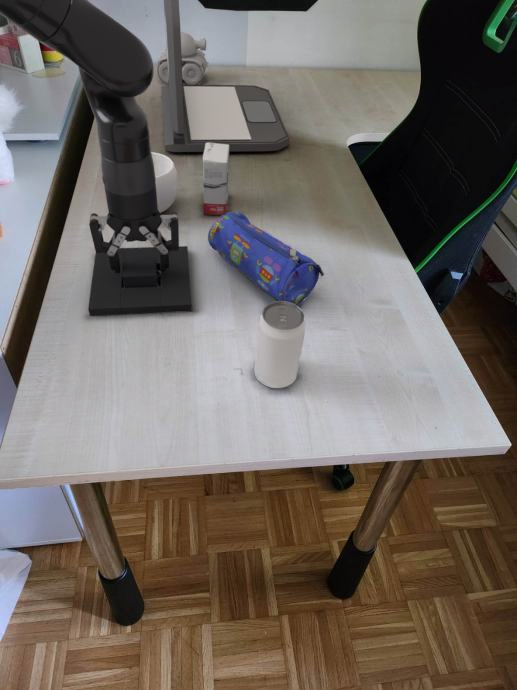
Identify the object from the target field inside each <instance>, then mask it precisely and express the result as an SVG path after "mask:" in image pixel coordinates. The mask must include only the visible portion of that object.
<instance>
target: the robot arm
mask: <svg viewBox="0 0 517 690" xmlns="http://www.w3.org/2000/svg"><path fill="white" fill-rule="evenodd" d="M0 15H1V16H3V17H4V18H5V19H7V20H8V21H9V22H11V23H12V24H14V25H15V26H17V27H18V28H19V29H21V30H22V31H23V32H25V33H26V34H28V35H29V36H30V37H32V39H35V40H36V41H38V42H39V43H41V44H42V45H44V46H45V47H46V48H49V49H51V50H52V51H55V52H56V53H59V54H60V55H62V56H64V57H65V58H67V59H68V60H69V61H71V62H72V63H73V64H75V65H76V66H77V69H78V73H79V75H80V79H81V82H82V85H83V88H84V91H85V94H86V97H87V100H88V103H89V104H88V105H89V106H90V108H91V111H92V113H93V117H94V119H95V122H96V129H97V130H96V131H97V138H98V143H99V149H100V150H99V151H100V161H101V162H100V166H101V173H102V174H101V175H102V176H101V178H102V183H103V186H104V193H105V198H106V204H107V212H108V213H107V215H98V214H97V213H95V212H93V213H90V217H89V223H88V226H89V230H90V234H91V239H92V243H93V247H94V251H95V253H96V252H97V253H102V252H103V253H106V254H107V255H108V256H109V262H110V267H111V269H112V270H115V273H120V261H119V255H118V248H121V246H122V245H123V243H124V242H125V241H126V243H132V242H137V241H138V242H147V240H148V242H149V243H150V244H151V245H152V247H156V248H157V249H158V250H159V251H160V260H161V271H166V268H169V252H170V251H178V250H179V246H180V235H179V234H180V230H179V227H180V226H179V224H180V223H179V214H178V212H177V211H171V212H170V214H162V213H160V212H159V211H158V205H157V193H156V178H155V170H154V163H153V158H152V154H151V152H152V147H151V133H150V125H149V120H148V117H147V114H146V112H145V111H144V110H143V108H142V107H141V106H140V104H139V103H138V102H137V100H136V98H135V97H139V96H140V95H142V94H144V93H145V92H146V91H147V90H148V89H149V87H150V86H151V84H152V82H153V79H154V73H155V69H154V67H155V66H154V61H153V57H152V54H151V51H149V49H148V47H147V46H146V45H145V43H144V42H143V41H142V40H141V39H140V38H138V37H137V36H136V35H135V34H134V33H133V32H131V31H130V29H128V28H127V27H125V26H124V25H122V24H121V23H120V22H119V21H117V20H115V19H114V18H113V17H111V16H110V15H109V14H107V13H106V12H105V11H103V10H102V9H100V8H99V7H97V6H96V5H94V4H93V3H92V2H91V1H90V0H0ZM162 224H164V225H165V228H166V229H168V231H169V230H170V237H171V238H170V239H168V240H167V239H166V238H165V237H164V236H163V234H162V232H161V231H160V229H159V228H160V227H161V225H162ZM106 225H107V226H108V227H109V228H110V229H111V230H112V231H114V232H113V233H112V237H111V238H110V240H109V241H105V240H104V236H103V231H104V230H105V226H106ZM161 271H160V272H161Z"/></svg>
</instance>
